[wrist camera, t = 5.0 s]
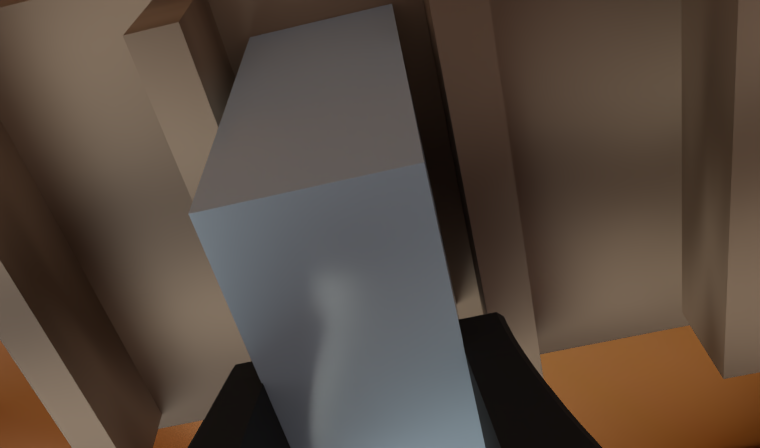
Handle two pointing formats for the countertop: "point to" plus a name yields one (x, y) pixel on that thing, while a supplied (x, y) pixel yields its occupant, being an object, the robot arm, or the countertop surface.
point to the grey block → (336, 241)
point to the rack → (445, 168)
